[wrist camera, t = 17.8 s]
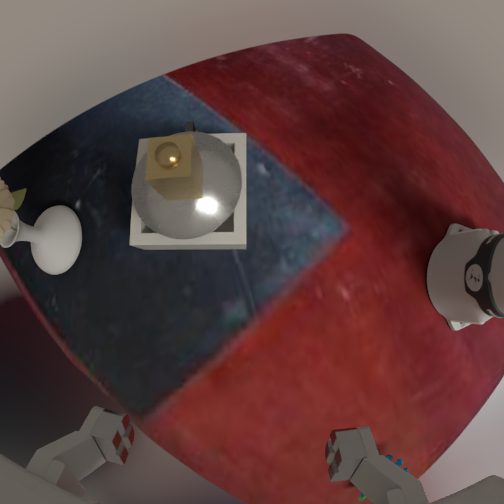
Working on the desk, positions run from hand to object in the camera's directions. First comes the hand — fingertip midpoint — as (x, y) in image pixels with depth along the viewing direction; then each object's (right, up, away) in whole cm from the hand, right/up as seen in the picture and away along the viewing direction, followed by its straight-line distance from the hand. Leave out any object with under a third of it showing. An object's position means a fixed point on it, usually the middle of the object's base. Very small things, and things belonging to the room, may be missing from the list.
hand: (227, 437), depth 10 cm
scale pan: (-7, +16, +30) cm, 35 cm away
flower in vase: (-30, +9, +32) cm, 45 cm away
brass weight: (-7, +16, +25) cm, 30 cm away
